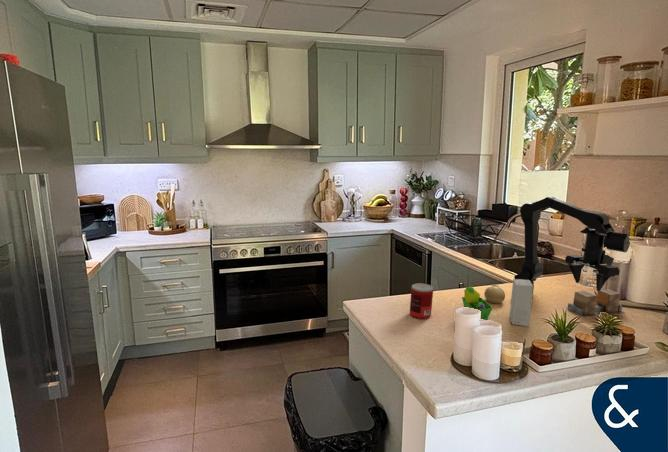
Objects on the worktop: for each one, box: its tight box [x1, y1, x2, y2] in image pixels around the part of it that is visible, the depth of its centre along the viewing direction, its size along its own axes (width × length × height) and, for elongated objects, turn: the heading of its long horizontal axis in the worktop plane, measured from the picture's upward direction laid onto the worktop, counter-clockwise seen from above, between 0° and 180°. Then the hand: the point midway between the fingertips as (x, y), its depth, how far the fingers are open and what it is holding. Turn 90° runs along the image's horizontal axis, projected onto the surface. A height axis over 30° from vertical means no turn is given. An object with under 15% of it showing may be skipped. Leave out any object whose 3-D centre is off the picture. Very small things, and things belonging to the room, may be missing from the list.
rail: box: [564, 302, 626, 318], centre depth 157 cm, size 20×9×3 cm, turn 106°
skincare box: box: [509, 278, 534, 328], centre depth 145 cm, size 8×6×15 cm
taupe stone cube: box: [596, 288, 622, 312], centre depth 158 cm, size 6×5×7 cm
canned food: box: [409, 282, 434, 320], centre depth 148 cm, size 8×8×11 cm
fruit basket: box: [461, 286, 494, 321], centre depth 150 cm, size 11×9×11 cm
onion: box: [483, 283, 506, 304], centre depth 165 cm, size 8×8×7 cm
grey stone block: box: [572, 290, 597, 314], centre depth 155 cm, size 6×5×7 cm
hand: (587, 286), depth 154 cm, fingers open, 9 cm apart
